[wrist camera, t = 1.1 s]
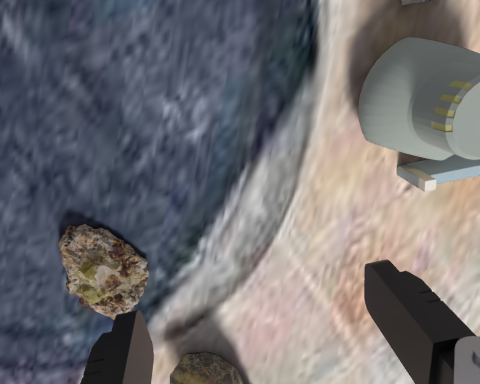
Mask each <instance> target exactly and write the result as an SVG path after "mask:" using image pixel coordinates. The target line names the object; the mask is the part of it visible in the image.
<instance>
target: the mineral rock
mask: <svg viewBox="0 0 480 384" xmlns="http://www.w3.org/2000/svg"><path fill="white" fill-rule="evenodd" d="M57 245H58V246H59V248H60V254H61V256H62V258H63V259H62V265H63V266H64V267H65V268H66V272H67V275H68V281H67V283H66V286H67V289H68V290H69V293H71V294H74V295H77V296H79V302H80V303H81V305H83V306H84V307H86V308H89V309H91V310H92V311H94V312H99V313H101V314H103V315H105V316H110V317H111V318H112V319H114V320H115V317H116V315H118V314H122V313H127V312H128V311H132V309H133V307H134V305H135V304H138V302H139V300H140V296H142V295H143V292H144V289H145V286H146V284H147V279H148V278H147V277H148V276H149V271H148V265H147V260H146V259H144V258H142V257H141V256H140V255H139V254H138V253H136V252H135V251H134V249H133V248H132V247H131V246H130V245H129V244H126V243H124V240H121V239H118V238H117V237H116V236H114V235H112V234H111V232H109V231H108V230H106V229H103V228H99V229H93V228H92V227H90V226H87V225H86V224H84V225H80V226H79V227H78V228H77V227H75V226H71V225H70V226H67V227H66V230H65V234H63V236H62V237H61V239H60V240H59V242H58V243H57Z"/></svg>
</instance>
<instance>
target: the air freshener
mask: <svg viewBox="0 0 480 384" xmlns="http://www.w3.org/2000/svg"><path fill="white" fill-rule="evenodd" d="M358 114H359V122H360V126H361V129H362V133H363V135H364V137H365V139H366V140H367V141H369V142H371V143H374V144H377V145H379V146H383V147H386V148H389V149H392V150H396V151H399V152H403V153H407V154H411V155H415V156H419V157H423V158H428V159H433V160H445V159H447V158H448V157H450V156H452V155H454V154H455V155H458V156H460V157H463V158H466V159H471V160H478V159H480V54H479V53H477V52H474V51H471V50H468V49H465V48H461V47H458V46H454V45H450V44H446V43H442V42H438V41H433V40H428V39H423V38H415V37H405V38H404V39H402V40H400V41H398V42H397V43H395V44H394V45H393V46H391V47H390V48H389V49H388V50H386V51H385V52H384V53H383V55H382V56H381V57H380V58H379V59H378V60H377V61H376V63H375V64H374V65H373V67H372V68H371V70H370V71H369V73H368V75H367V77H366V79H365V81H364V84H363V87H362V90H361V94H360V99H359V109H358Z"/></svg>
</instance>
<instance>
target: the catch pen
mask: <svg viewBox="0 0 480 384" xmlns="http://www.w3.org/2000/svg"><path fill="white" fill-rule="evenodd" d="M424 1H430V0H402V5H407V4H413V3H418V2H424ZM397 175H398V176H400V177H402V178H403V179H405V180H406V181H408V182H410V183H411V184H413V185H414V186H416V187H418V188H419V189H421V190H423V191H424V192H426V191H431V190H436V184H440V183H445V182H450V181H455V180H460V179H465V178H470V177H475V176H480V159H478V160H471V159H466V158H463V157H460V156H458V155H455V154H454V155H452V156H450V157H448V158H447V159H445V160H433V159H427V160H422V161H417V162H412V163H407V164H402V165H398V166H397Z"/></svg>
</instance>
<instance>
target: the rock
mask: <svg viewBox="0 0 480 384" xmlns="http://www.w3.org/2000/svg"><path fill="white" fill-rule="evenodd" d="M170 384H243V381H242V379H241V376H240V375H239V374H238V371H237V370H236V369H235V368H234V367H233V366H232V365H231V364H229V363H228V362H227V361H225V360H223V359H222V358H220V357H218V356H217V355H212V354H211V353H205V352H203V353H198V354H185V355H184V356H183V357H182V358H181V361H180V363H179V364H178V365H177V366H176V368H175V370H174V371H173V372H172V373H171V375H170Z"/></svg>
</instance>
